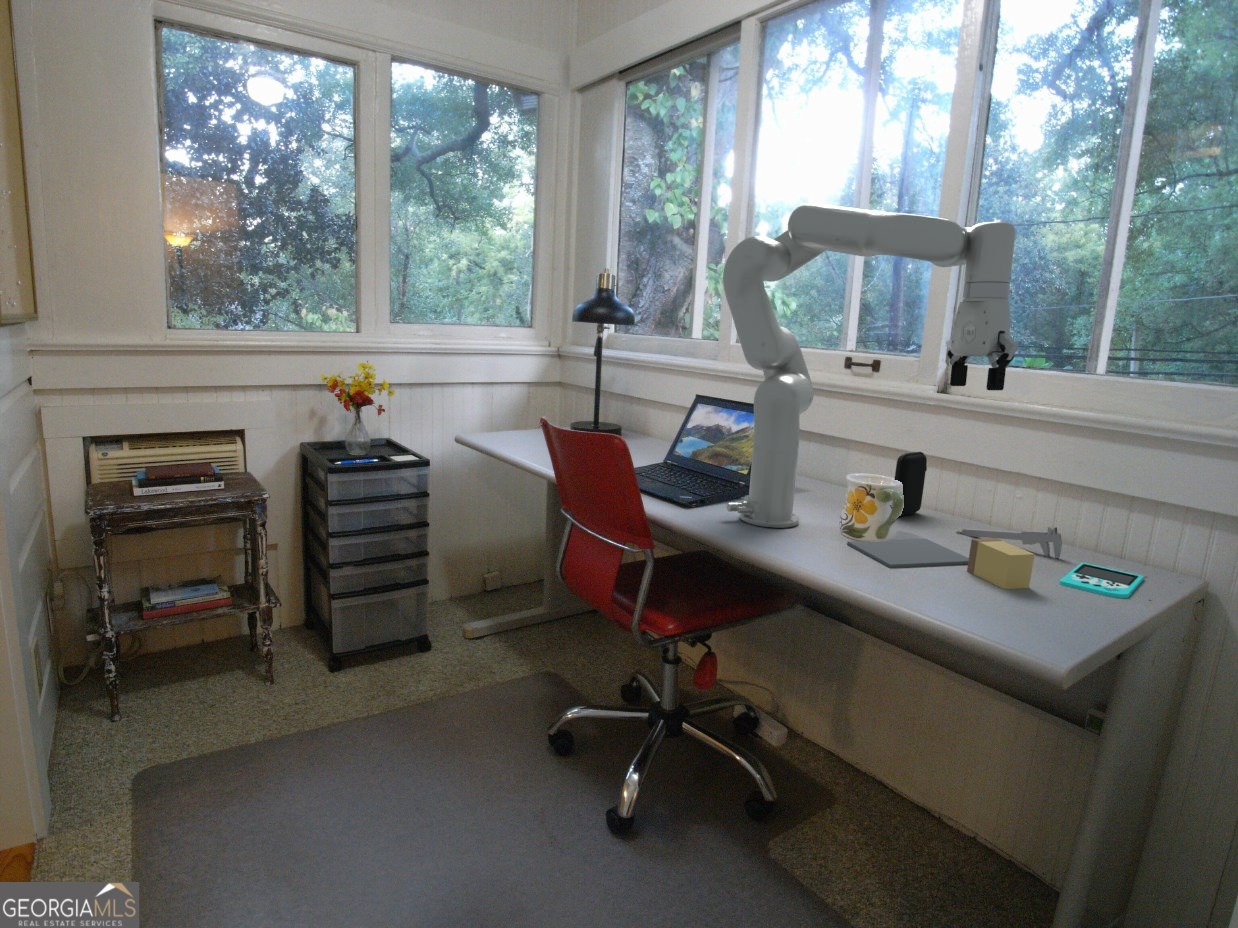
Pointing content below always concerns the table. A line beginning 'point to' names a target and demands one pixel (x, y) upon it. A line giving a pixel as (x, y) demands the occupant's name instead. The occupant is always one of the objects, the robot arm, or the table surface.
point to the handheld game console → (1102, 580)
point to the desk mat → (909, 553)
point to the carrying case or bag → (911, 479)
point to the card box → (1000, 563)
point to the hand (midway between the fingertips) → (975, 388)
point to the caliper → (1023, 537)
